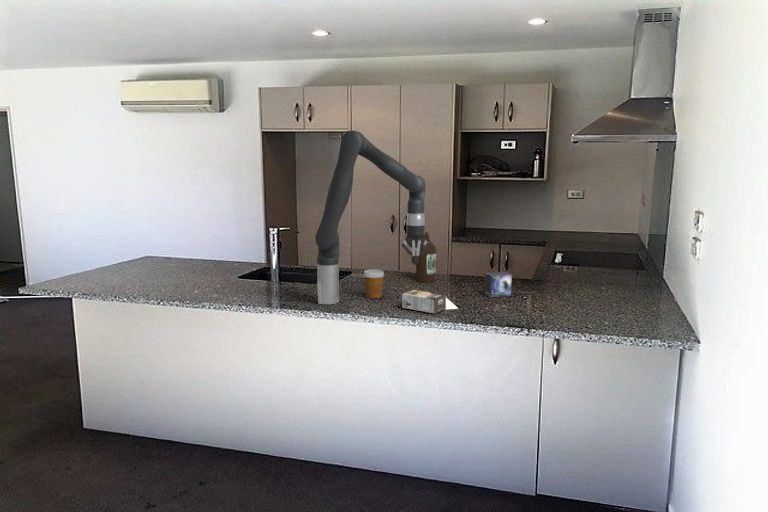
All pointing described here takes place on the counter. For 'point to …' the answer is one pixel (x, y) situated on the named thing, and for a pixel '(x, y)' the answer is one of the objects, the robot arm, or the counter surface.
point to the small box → (498, 284)
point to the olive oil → (426, 263)
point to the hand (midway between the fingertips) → (414, 264)
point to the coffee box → (424, 301)
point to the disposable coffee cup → (373, 282)
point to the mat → (450, 305)
